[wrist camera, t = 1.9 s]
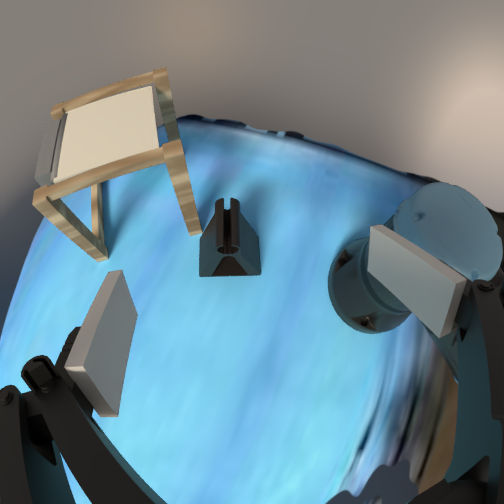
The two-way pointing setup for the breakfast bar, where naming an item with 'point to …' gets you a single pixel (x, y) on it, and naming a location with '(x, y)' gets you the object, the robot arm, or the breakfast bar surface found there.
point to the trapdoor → (97, 135)
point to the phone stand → (229, 244)
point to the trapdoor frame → (118, 170)
